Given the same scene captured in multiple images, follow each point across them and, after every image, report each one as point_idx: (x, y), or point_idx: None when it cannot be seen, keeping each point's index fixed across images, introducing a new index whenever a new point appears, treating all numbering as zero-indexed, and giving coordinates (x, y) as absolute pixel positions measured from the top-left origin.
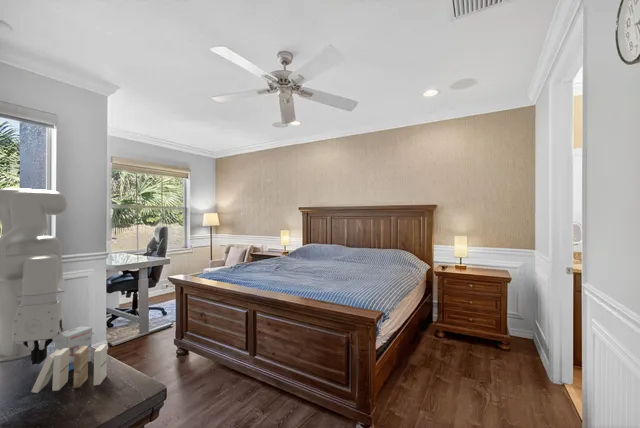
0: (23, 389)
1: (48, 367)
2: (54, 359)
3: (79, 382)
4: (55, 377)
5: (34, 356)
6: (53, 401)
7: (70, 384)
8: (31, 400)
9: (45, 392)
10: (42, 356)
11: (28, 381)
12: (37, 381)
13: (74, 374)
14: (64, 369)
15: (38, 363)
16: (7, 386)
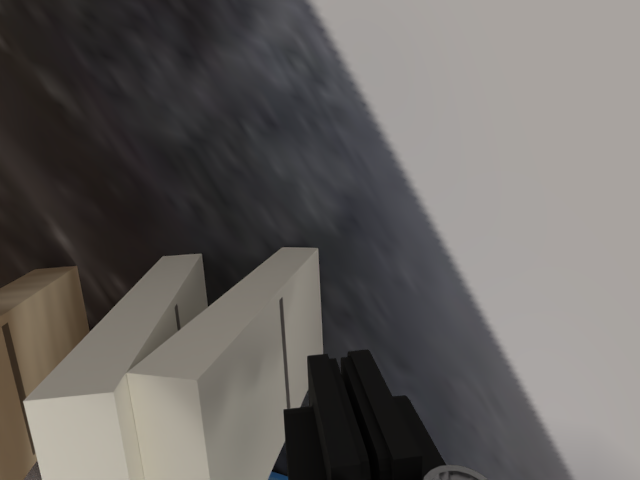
0: (392, 308)
1: (202, 317)
2: (121, 362)
3: (20, 279)
4: (165, 285)
5: (370, 405)
6: (104, 110)
7: None
8: (264, 162)
9: (236, 245)
10: (297, 426)
11: (417, 395)
12: (288, 269)
13: (16, 300)
14: None
15: (311, 356)
16: (498, 358)
